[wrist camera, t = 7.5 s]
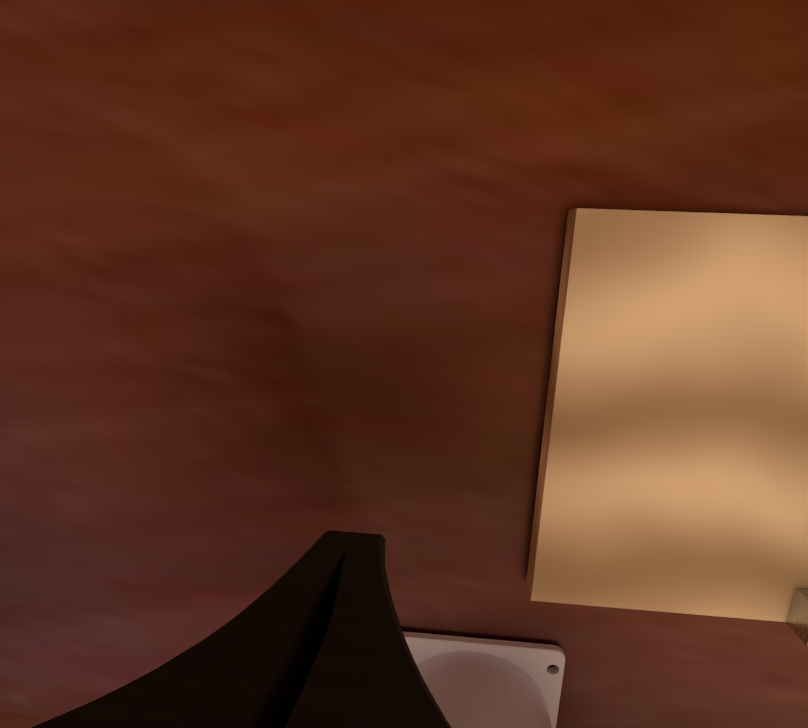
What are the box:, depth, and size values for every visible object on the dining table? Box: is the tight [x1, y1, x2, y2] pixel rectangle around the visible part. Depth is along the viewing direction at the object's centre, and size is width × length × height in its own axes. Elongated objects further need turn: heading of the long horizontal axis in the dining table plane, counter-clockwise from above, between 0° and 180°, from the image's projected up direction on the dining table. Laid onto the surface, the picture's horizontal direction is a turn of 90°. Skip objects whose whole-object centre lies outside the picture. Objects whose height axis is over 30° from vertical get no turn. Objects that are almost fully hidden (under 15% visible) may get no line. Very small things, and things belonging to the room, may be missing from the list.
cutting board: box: [526, 208, 808, 622], centre depth 19 cm, size 15×18×1 cm
